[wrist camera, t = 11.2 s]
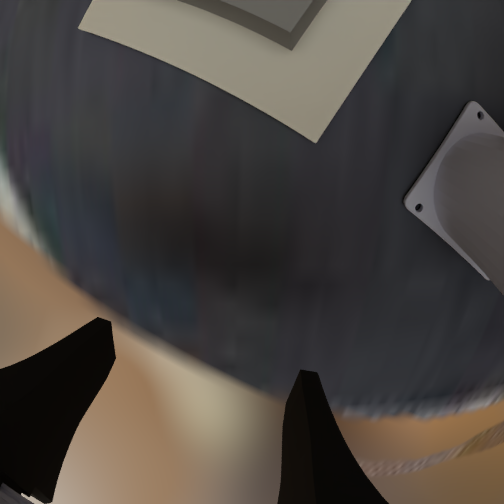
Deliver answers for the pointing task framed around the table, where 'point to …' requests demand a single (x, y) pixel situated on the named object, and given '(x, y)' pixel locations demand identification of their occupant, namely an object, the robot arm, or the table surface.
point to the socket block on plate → (259, 47)
